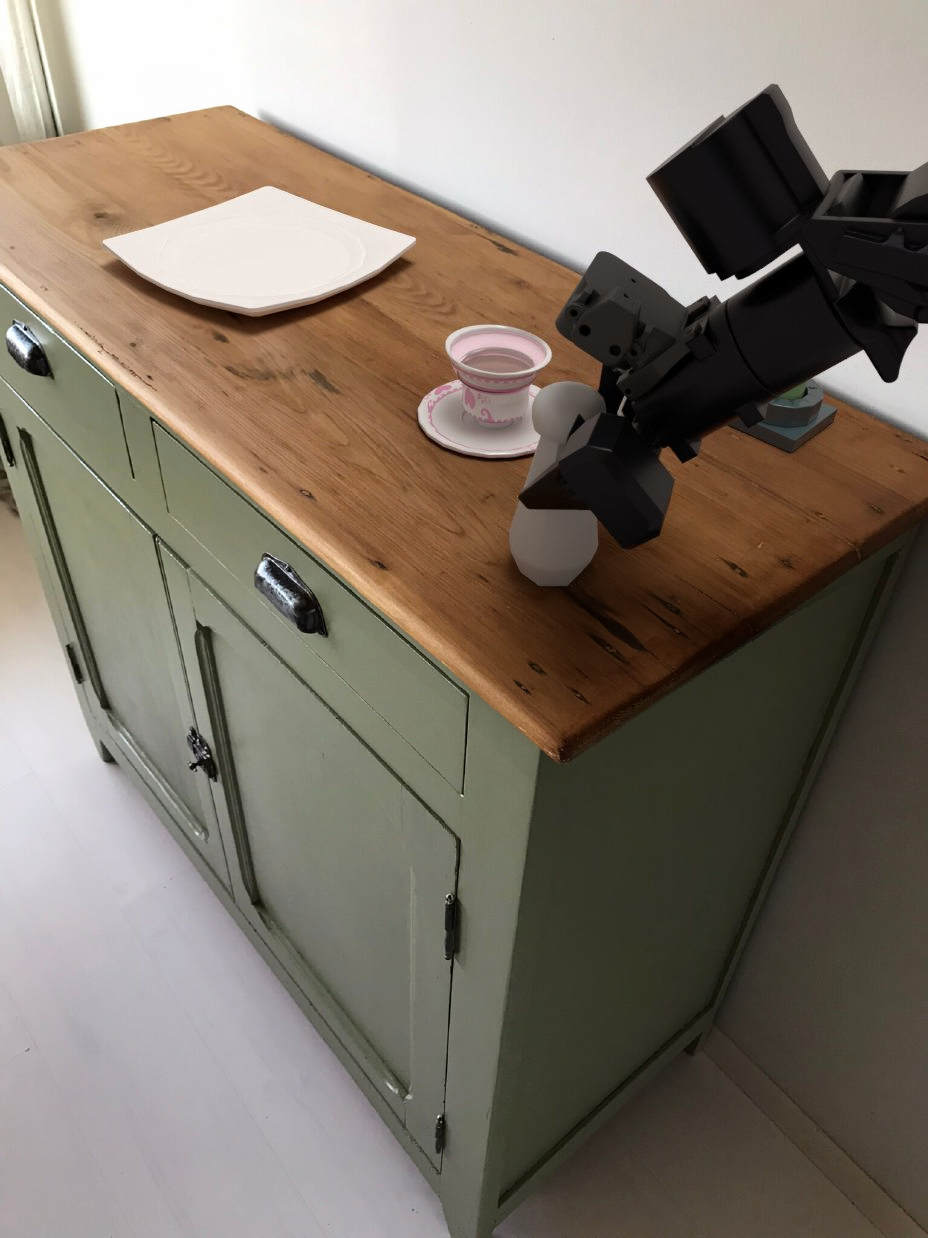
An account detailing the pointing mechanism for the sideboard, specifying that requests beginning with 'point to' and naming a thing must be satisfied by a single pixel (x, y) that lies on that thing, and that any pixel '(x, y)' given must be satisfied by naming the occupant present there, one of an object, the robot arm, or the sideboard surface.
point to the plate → (260, 253)
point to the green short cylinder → (794, 392)
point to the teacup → (487, 393)
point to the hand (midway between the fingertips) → (534, 478)
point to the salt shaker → (555, 538)
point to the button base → (792, 419)
